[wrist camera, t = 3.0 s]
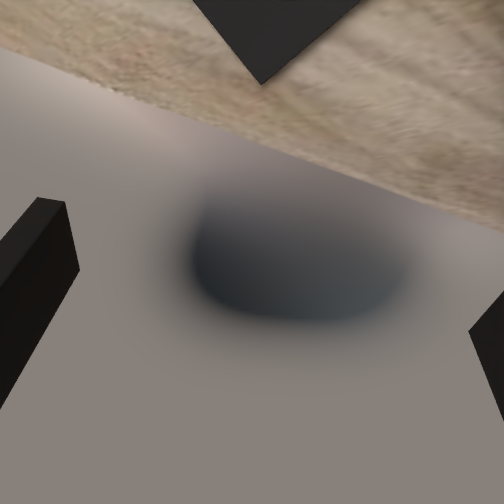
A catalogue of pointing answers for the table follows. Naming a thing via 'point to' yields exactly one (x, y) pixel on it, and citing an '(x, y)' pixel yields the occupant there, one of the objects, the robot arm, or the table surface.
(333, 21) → the mat
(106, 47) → the table surface
